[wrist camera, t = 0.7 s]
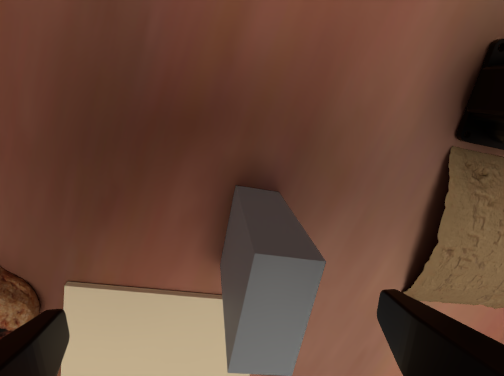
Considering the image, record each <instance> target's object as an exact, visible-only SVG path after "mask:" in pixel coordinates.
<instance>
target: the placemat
mask: <svg viewBox="0 0 504 376" xmlns="http://www.w3.org/2000/svg"><path fill="white" fill-rule="evenodd" d="M64 311H65V314H66V318H67V323H68V328H69V334H70V337H69V343H68V346H67V349H66V351H65V354H64V357H63V360H62V363H61V376H250V374H239V373H228V372H227V357H226V343H225V328H224V313H223V299H222V295H216V294H204V293H193V292H182V291H170V290H159V289H148V288H136V287H125V286H114V285H102V284H91V283H80V282H69V281H68V282H67V283H66V284H65V286H64Z"/></svg>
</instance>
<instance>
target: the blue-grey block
mask: <svg viewBox="0 0 504 376" xmlns="http://www.w3.org/2000/svg"><path fill="white" fill-rule="evenodd" d="M325 264H326V261H325V259H324V258H323V256H322V255H321V253H320V252H319V250H318V249H317V248H316V246H315V245H314V243H313V242H312V240H311V239H310V237H309V236H308V234H307V233H306V231H305V230H304V228H303V227H302V225H301V224H300V222H299V221H298V220H297V218H296V217H295V215H294V214H293V212H292V211H291V209H290V208H289V206H288V205H287V203H286V202H285V200H284V199H283V197H282V196H281V195H280V193H279V192H275V191H269V190H262V189H256V188H250V187H243V186H237V185H236V186H235V191H234V196H233V201H232V206H231V211H230V217H229V222H228V227H227V232H226V237H225V242H224V247H223V252H222V258H221V263H220V269H221V284H222V299H223V313H224V328H225V343H226V357H227V372H228V373H239V374H263V375H287V376H292V373H293V370H294V367H295V363H296V360H297V357H298V353H299V350H300V347H301V343H302V340H303V337H304V333H305V330H306V327H307V323H308V320H309V317H310V313H311V310H312V307H313V303H314V300H315V297H316V293H317V290H318V287H319V283H320V280H321V277H322V274H323V270H324V267H325Z"/></svg>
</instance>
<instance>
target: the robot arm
mask: <svg viewBox="0 0 504 376" xmlns="http://www.w3.org/2000/svg"><path fill="white" fill-rule="evenodd" d="M498 46H500V49H499V51H498ZM465 132H466V135H465V136H464V133H465ZM456 137H457V139H458V140H460V141H465V142H469V143H474V144H479V145H484V146H488V147H493V148H498V149H503V150H504V39H499V40H495V41H493V42H492V43H491V45H490V47H489V49H488V52H487V55H486V57H485V60H484V62H483V65H482V68H481V70H480V73H479V75H478V78H477V81H476V83H475V86H474V88H473V91H472V94H471V96H470V99H469V102H468V104H467V107H466V109H465V112H464V115H463V117H462V120H461V122H460V125H459V128H458V130H457V134H456ZM377 318H378V321H379V324H380V326H381V328H382V331H383V333H384V335H385V337H386V340H387V342H388V344H389V346H390V349H391V351H392V353H393V355H394V358H395V360H396V362H397V364H398V366H399V368H400V370H401V372H402V374H403V376H504V345H503V344H502V343H500V342H498V341H496V340H494V339H492V338H490V337H488V336H486V335H484V334H482V333H480V332H478V331H476V330H474V329H472V328H470V327H468V326H466V325H464V324H462V323H461V322H459V321H457V320H455V319H453V318H451V317H449V316H447V315H445V314H443V313H441V312H439V311H437V310H435V309H433V308H431V307H429V306H427V305H425V304H423V303H421V302H420V301H418V300H416V299H414V298H412V297H410V296H408V295H406V294H404V293H402V292H400V291H398V290H396V289H388V290H382V291H381V293H380V297H379V303H378V309H377ZM69 337H70V334H69V328H68V323H67V318H66V314H65V311H64V310H62V309H52V310H46V311H44V312H42V313H41V314H39V315H37V316H36V317H34V318H33V319H31V320H30V321H28V322H26V323H25V324H23V325H22V326H20V327H19V328H17V329H15V330H14V331H12V332H11V333H9V334H7V335H6V336H4V337H3V338H1V339H0V376H57V374H58V371H59V368H60V365H61V363H62V360H63V357H64V354H65V351H66V349H67V346H68V343H69Z"/></svg>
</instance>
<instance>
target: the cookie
mask: <svg viewBox="0 0 504 376" xmlns="http://www.w3.org/2000/svg"><path fill="white" fill-rule="evenodd" d="M39 309H40V305H39V301H38V299H37V295H36V293H35V291H34V290H33V289H32V288H31V286H30V285H29V284H28V283H26V282H25V280H23V279H22V278H18V277H17V276H15V275H14V274H12V273H10V272H8V271H6V270H4V269H3V268H2V267H1V266H0V339H1V338H3V337H4V336H6V335H7V334H9V333H11V332H12V331H14V330H15V329H17V328H19V327H20V326H22V325H23V324H25V323H26V322H28V321H30V320H31V319H33V318H34V317H36V316H37V315H39V314H40V312H39Z"/></svg>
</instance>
